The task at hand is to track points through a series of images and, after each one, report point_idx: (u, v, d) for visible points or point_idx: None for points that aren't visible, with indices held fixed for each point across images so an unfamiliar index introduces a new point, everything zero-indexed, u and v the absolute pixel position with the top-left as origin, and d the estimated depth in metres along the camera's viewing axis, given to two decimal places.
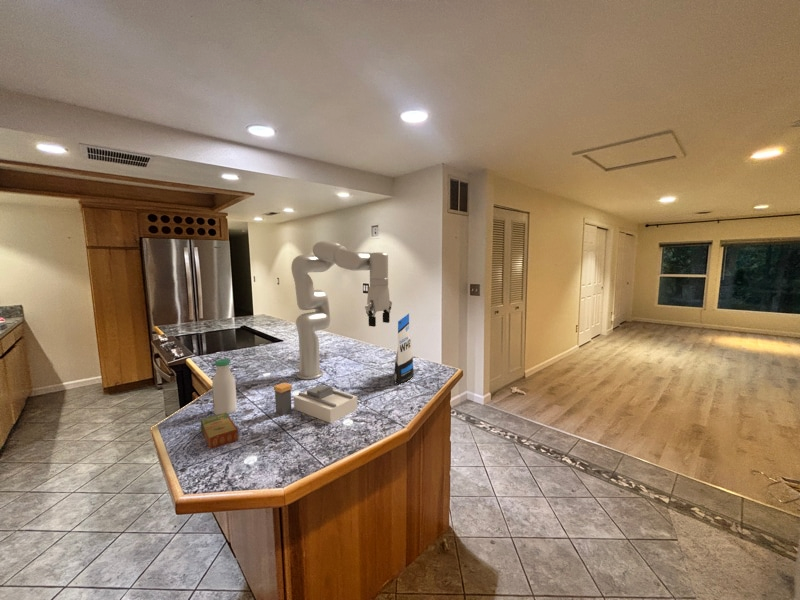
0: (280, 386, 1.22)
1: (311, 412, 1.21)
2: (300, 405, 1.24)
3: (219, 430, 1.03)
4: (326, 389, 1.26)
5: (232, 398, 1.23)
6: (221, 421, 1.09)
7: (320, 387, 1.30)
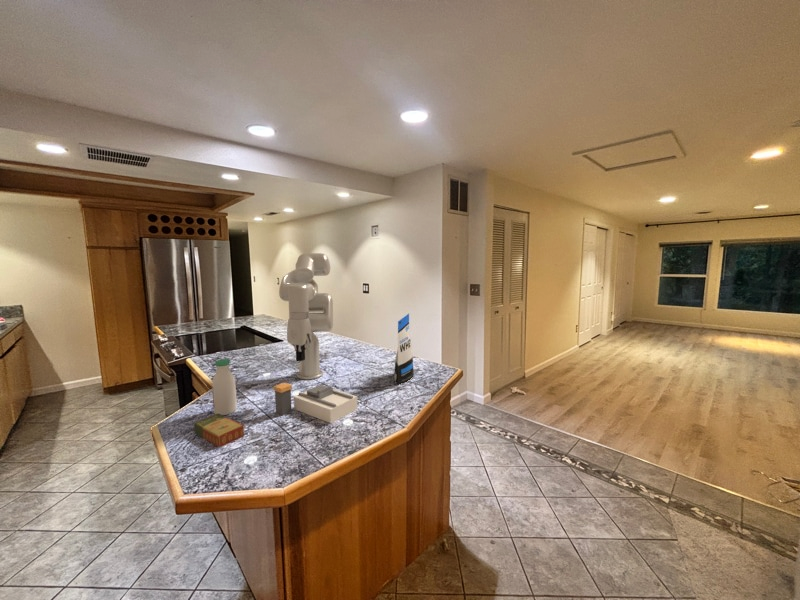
0: (280, 386, 1.22)
1: (311, 412, 1.21)
2: (300, 405, 1.24)
3: (224, 428, 1.04)
4: (326, 389, 1.26)
5: (232, 398, 1.23)
6: (220, 421, 1.09)
7: (320, 387, 1.30)
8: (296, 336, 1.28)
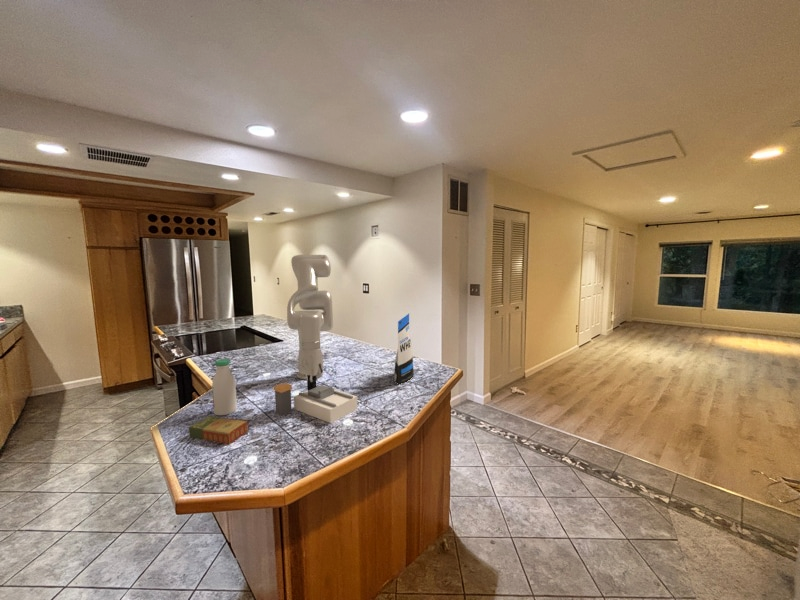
0: (280, 386, 1.22)
1: (311, 412, 1.21)
2: (300, 405, 1.24)
3: (229, 426, 1.06)
4: (327, 389, 1.26)
5: (232, 398, 1.23)
6: (219, 421, 1.09)
7: (321, 387, 1.29)
8: (308, 366, 1.26)
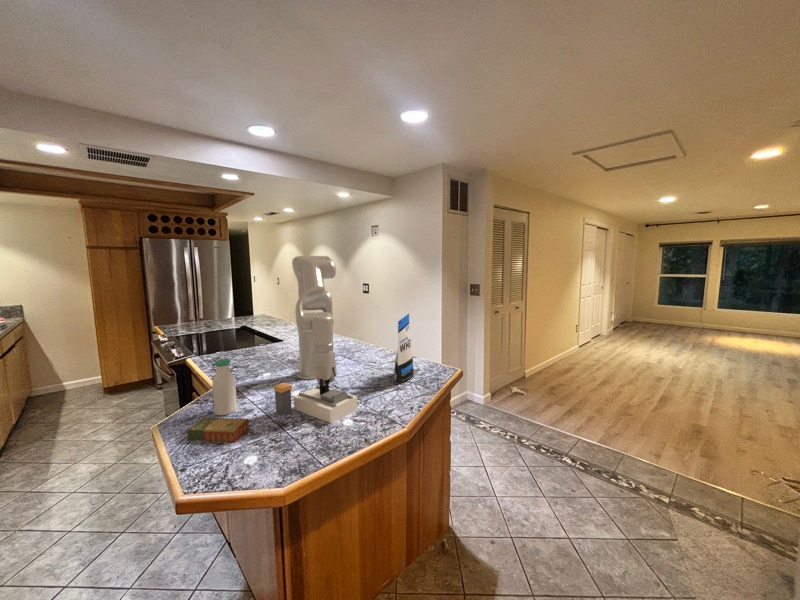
0: (280, 386, 1.22)
1: (311, 412, 1.21)
2: (300, 405, 1.24)
3: (232, 424, 1.06)
4: (340, 394, 1.22)
5: (232, 398, 1.23)
6: (218, 421, 1.09)
7: (334, 391, 1.25)
8: (320, 370, 1.22)
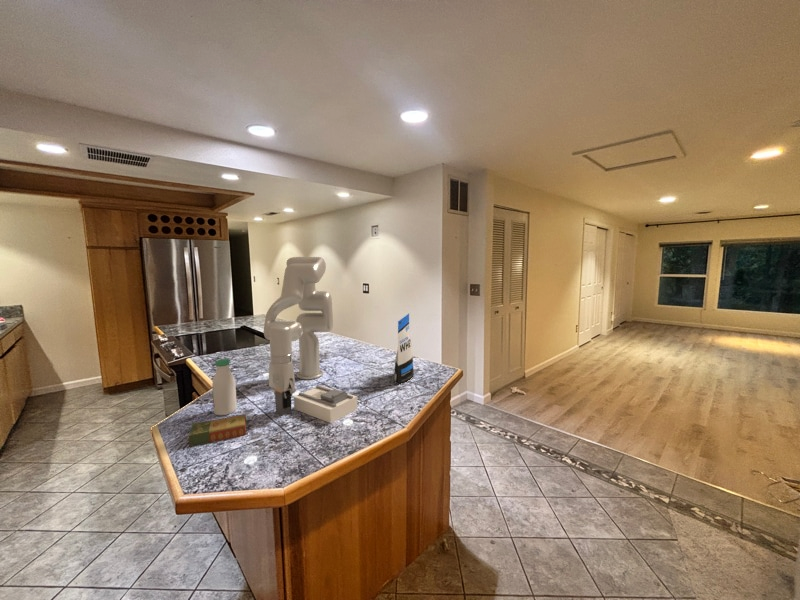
0: None
1: (311, 412, 1.21)
2: (300, 405, 1.24)
3: (236, 421, 1.09)
4: (340, 394, 1.22)
5: (232, 398, 1.23)
6: (216, 422, 1.08)
7: (334, 391, 1.25)
8: (278, 381, 1.19)
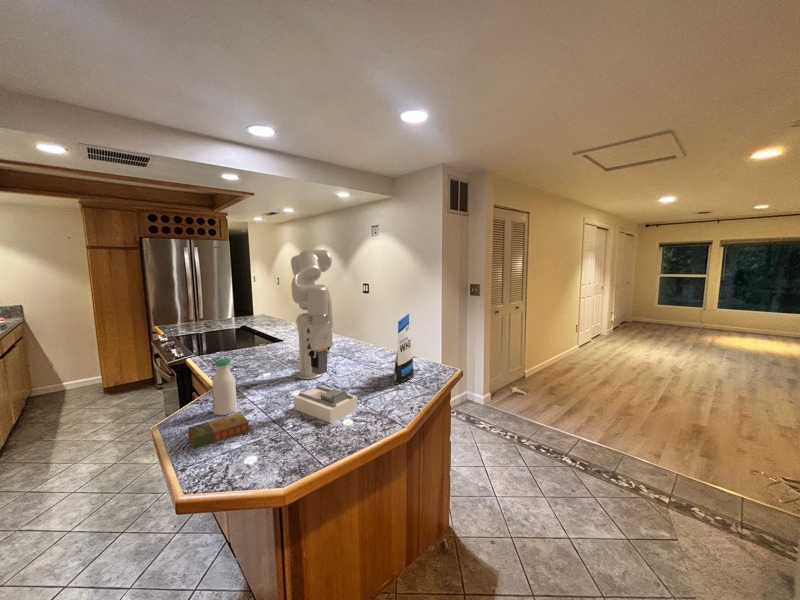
0: None
1: (311, 412, 1.21)
2: (300, 405, 1.24)
3: (236, 419, 1.10)
4: (340, 394, 1.22)
5: (232, 398, 1.23)
6: (215, 422, 1.08)
7: (334, 391, 1.25)
8: (326, 339, 1.25)
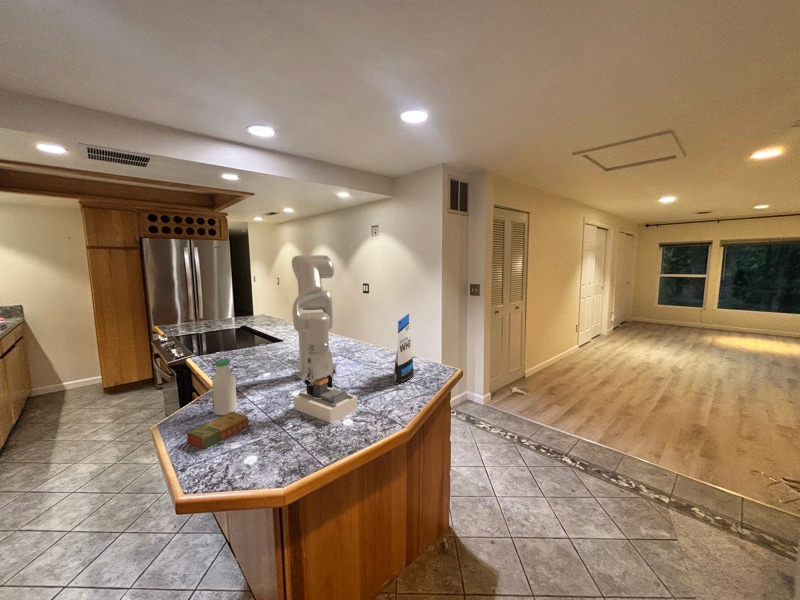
0: (321, 379, 1.27)
1: (311, 412, 1.21)
2: (300, 405, 1.24)
3: (234, 417, 1.12)
4: (340, 394, 1.22)
5: (232, 398, 1.23)
6: (214, 423, 1.08)
7: (334, 391, 1.25)
8: (327, 367, 1.26)
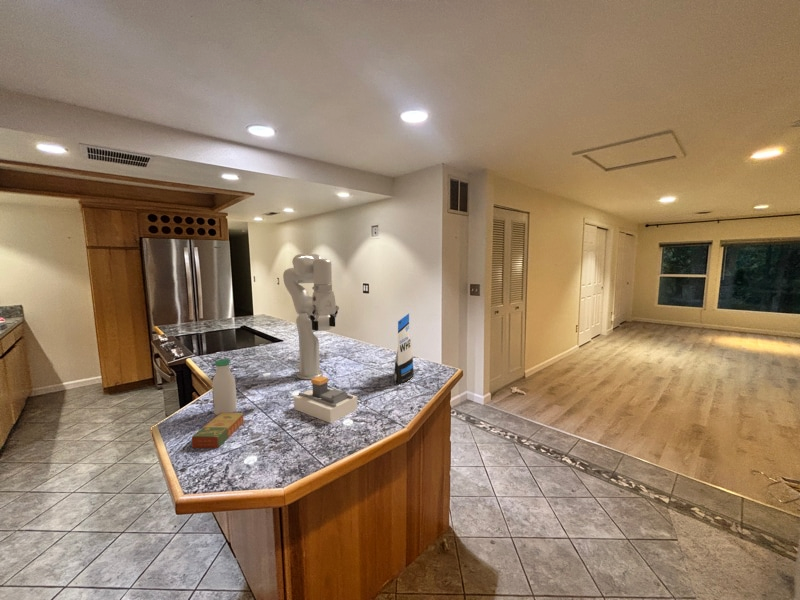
0: (321, 379, 1.27)
1: (311, 412, 1.21)
2: (300, 405, 1.24)
3: (229, 415, 1.13)
4: (340, 394, 1.22)
5: (232, 398, 1.23)
6: (214, 424, 1.07)
7: (334, 391, 1.25)
8: (330, 306, 1.39)
